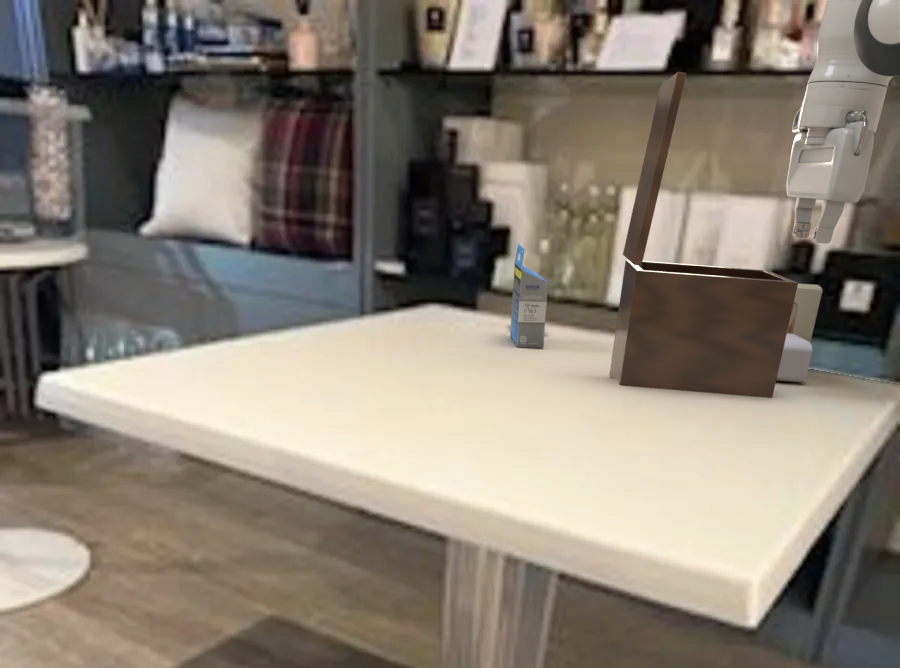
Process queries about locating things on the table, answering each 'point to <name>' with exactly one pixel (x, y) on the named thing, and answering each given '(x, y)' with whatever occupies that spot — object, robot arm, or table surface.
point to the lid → (653, 167)
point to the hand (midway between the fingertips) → (810, 240)
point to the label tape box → (528, 305)
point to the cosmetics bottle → (805, 311)
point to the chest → (701, 328)
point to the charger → (794, 359)
